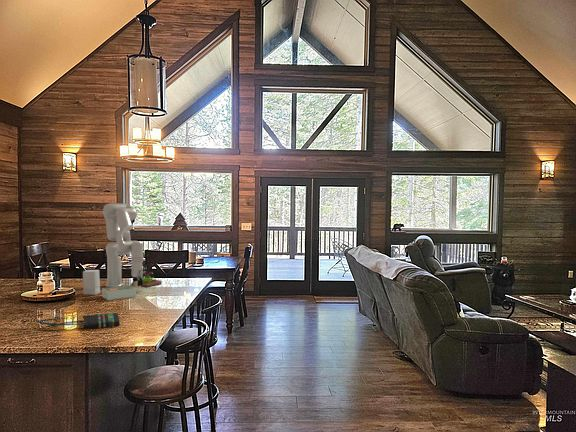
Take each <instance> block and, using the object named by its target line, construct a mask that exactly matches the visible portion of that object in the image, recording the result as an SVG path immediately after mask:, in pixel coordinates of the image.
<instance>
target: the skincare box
mask: <svg viewBox="0 0 576 432" xmlns="http://www.w3.org/2000/svg"><path fill="white" fill-rule="evenodd" d="M100 280H101V279H100V269H87V270H84V271H82V286H83V288H82V289H83V295H84V296H85V295H89V296H92V295H98V294H100V293H101V285H100V284H101V283H100V282H101V281H100Z"/></svg>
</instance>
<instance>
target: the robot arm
mask: <svg viewBox="0 0 576 432" xmlns="http://www.w3.org/2000/svg"><path fill="white" fill-rule="evenodd" d="M102 213H103V217H104V220H105V225H106V228H105V229H106V236H107V239H108V241H115V242H108V244H106V246H105V252H106V257H107V258H106V260H107V264H106V265H107V269H106V270H107V273H106V274H107V276H106V277H107V280H106V281H107V282H106V283H105V284H104V286H105V288H110V287H119V286H125V284H124V282H122V259H121V258H120V256H124V255H129V254H130V253H131V261H130V262H131V273H130V275H131V277H132V282H135V281H137V283H138V286H143V278H144V274H143V272H144V267H143V266H144V265H143V262H144V243H143V241H140V240H139V241H138V240H131V239H132V238H131V232H130V231H131V230H132V229H133V224H132V220H136V219H137V217H138V212H137V210H136V209H135V207H133V206H131V205H130V204H128V203H116V202H115V203H106V204H104V207H103V209H102Z"/></svg>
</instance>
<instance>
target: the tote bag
mask: <svg viewBox="0 0 576 432" xmlns="http://www.w3.org/2000/svg"><path fill="white" fill-rule="evenodd" d="M119 317H120V316H119V314H118V313H117V312H112V313H111V312H110V313H100V314H98V313H97V314H92V315H89V314H88V315H86V314H85V315H82V316H80V318H83V320H82V322H81V320H72V321H65V322H59V323H51V322H49V321H56V320H65V319H66V320H67V319H68V317H61V318H49V319H40V320H39V321H38V323H39V324H40V325H41V324H42V325H45V326H43V327H41V328H42V329H41V328H39V330H43V331H42V332H53V331H54V332H55V331H56V332H57V331H65V330H67V331H69V328H59V329H45V327H46V328H50V327H55V326H76V325H78V326H79V325H83V327H82V328H81V327H80V328H76V330H86V329H87V330H88V329H103V328H104V327H105V328H113V327H112V326H115V327H120V326H121V325H120V319H119ZM73 318H74V319H75V318H77V317H76V316H75V317H74V316H73V317H72V319H73ZM47 321H48V322H47ZM77 322H81V323H77ZM105 328H104V329H105Z"/></svg>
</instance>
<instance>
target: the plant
mask: <svg viewBox="0 0 576 432" xmlns="http://www.w3.org/2000/svg"><path fill="white" fill-rule="evenodd" d="M153 274H154V272H152V271H150V272H148V271H147V270H143V286H141V288H152V287H157V286H161V285H162V284H163V283H162V282H163V281H162V280H160V279H158V280H157V279H154V277H155V276H153V277H151V275H153ZM130 286H132V287H133V281H132V282H130Z"/></svg>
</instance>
